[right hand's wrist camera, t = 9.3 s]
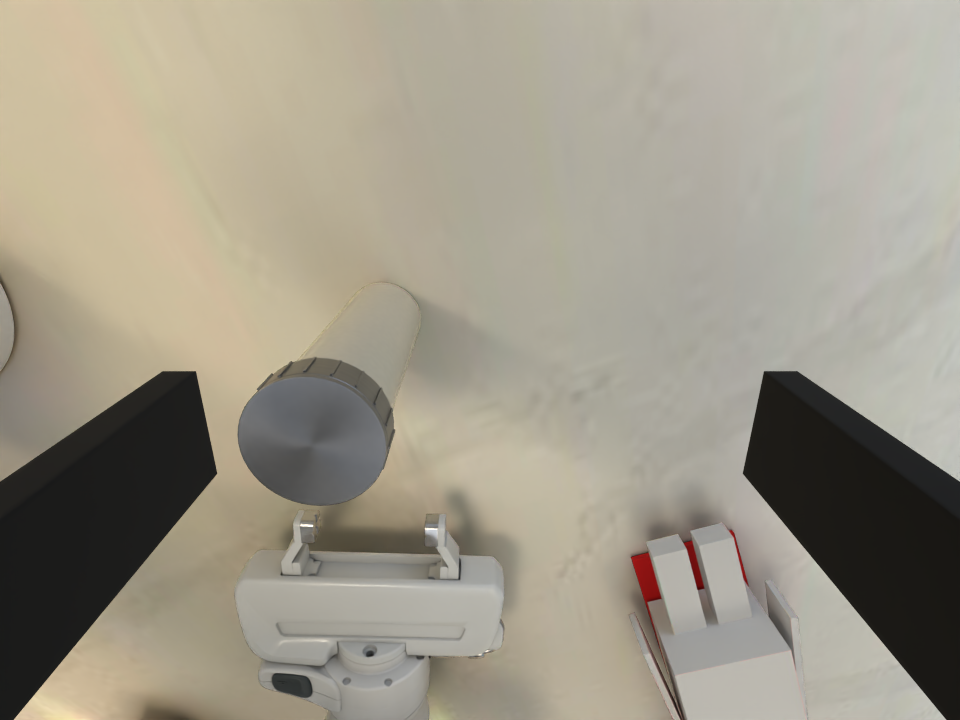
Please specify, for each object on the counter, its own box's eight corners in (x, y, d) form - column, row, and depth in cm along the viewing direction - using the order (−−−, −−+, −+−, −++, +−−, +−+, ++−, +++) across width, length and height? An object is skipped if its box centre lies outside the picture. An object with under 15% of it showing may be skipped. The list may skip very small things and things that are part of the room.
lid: (422, 409, 25) (417, 432, 23) (346, 501, 26) (335, 530, 24) (303, 327, 23) (286, 344, 21) (231, 431, 25) (208, 456, 23)
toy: (801, 565, 36) (867, 879, 43) (723, 476, 49) (783, 727, 56) (627, 606, 38) (716, 903, 44) (596, 509, 51) (668, 750, 57)
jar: (436, 312, 40) (404, 429, 23) (393, 366, 41) (335, 513, 25) (374, 266, 38) (292, 356, 22) (332, 324, 40) (227, 448, 23)
